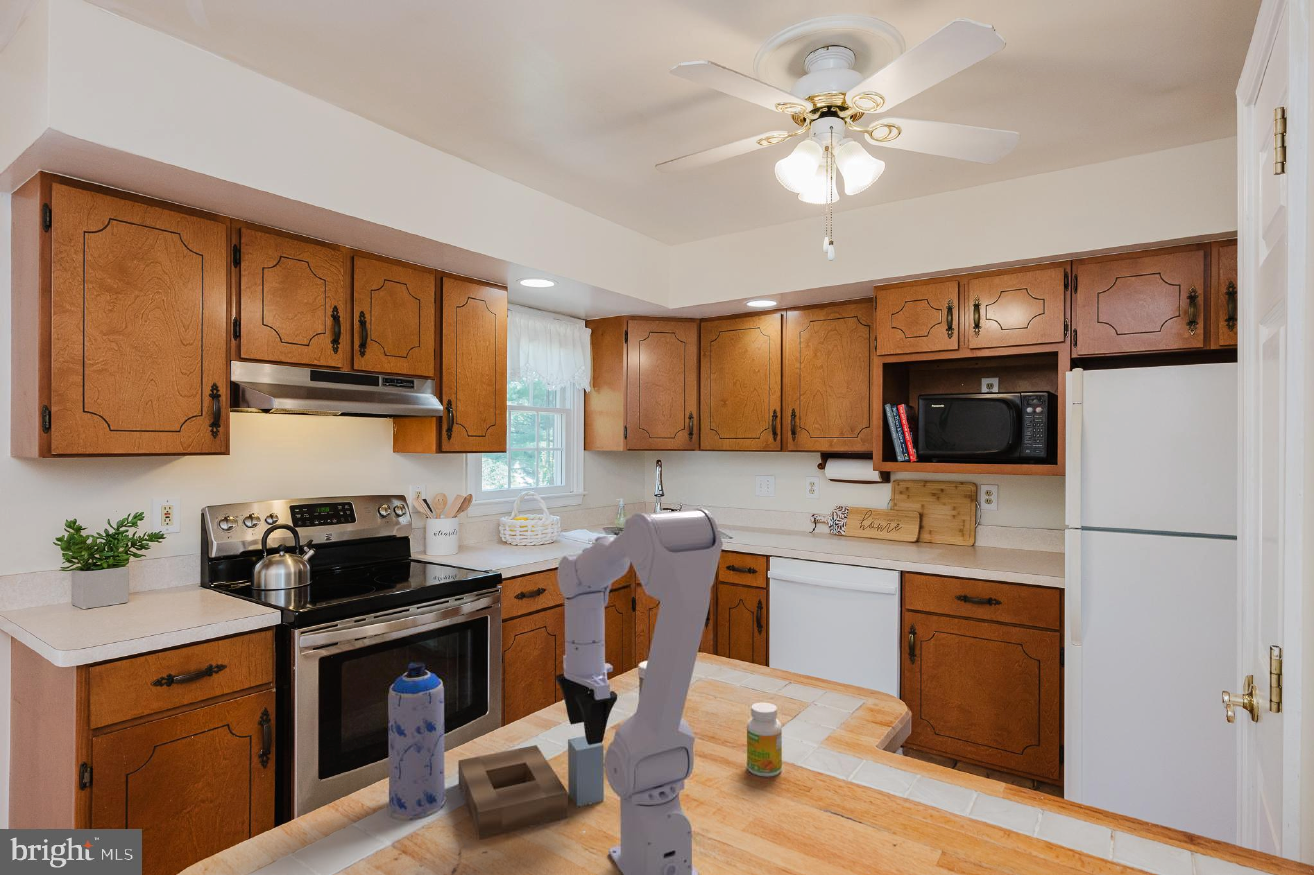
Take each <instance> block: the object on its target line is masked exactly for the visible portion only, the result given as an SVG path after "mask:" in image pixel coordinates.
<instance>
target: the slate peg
mask: <svg viewBox="0 0 1314 875" xmlns="http://www.w3.org/2000/svg"><path fill="white" fill-rule="evenodd" d="M604 755H605V753H604V744H603V742H602V743H597V744H592V745H589V744H588V743H587V740H586V736H585V735H583V736H578V737H574V738H568V739H567V776H568V777H567V781H568V782H567V783H568V784H567V788H568V790H567V792H568V796H569V795H570V796H569V797H570V799H571V798H572V799H571V800H572V802H573V801H574V802H573V803H574V805H575V804H576V805H575V806H576V808H579V807H578V806H580V807H584V805H585V806H587V805H586V804H589V805H591V804H590V803H593V804H596V802H597V803H599V802H598V801H601V802H604V801H605V794H604V790H605V789H604V788H605V785H604V781H605V780H604V775H605V774H604V771H605V756H604ZM603 800H604V801H603Z"/></svg>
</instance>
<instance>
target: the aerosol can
mask: <svg viewBox="0 0 1314 875" xmlns="http://www.w3.org/2000/svg"><path fill="white" fill-rule="evenodd" d="M443 684H444V682H443V681H442V679H441V678H439V677H438V676H437V675H436V674H435V673H432V672H430V671H428V670H426V669H425V663H424V662H421V661H413V662H410V663H409V664H408V666H407V671H406V672H405V673H403V674H402V675H400V676H399V677H398V678H396V680H395V681H394V682H393V684H392V685H391V686H390V687H389V690H388V695H387V697H388V698H387V699H388V700H387V701H388V703H387V704H388V705H387V706H388V710H387V711H388V724H387V725H388V805H387V812H388V814H389V815H390V816H391V817H392V818H394V819H398V820H402V821H403V820H404V821H412V820H420V819H423V818H426V817H430V816H432V815H434V814H436V813H437V812H439V811H441V810H442V809H443V808H444V806H445V805H446V802H447V795H446V793H445V792H446V790H445V788H446V786H445V785H446V784H445V687H444V685H443Z"/></svg>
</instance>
